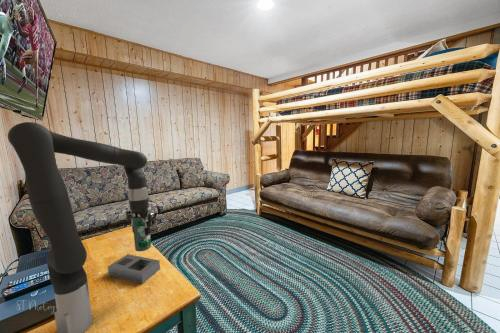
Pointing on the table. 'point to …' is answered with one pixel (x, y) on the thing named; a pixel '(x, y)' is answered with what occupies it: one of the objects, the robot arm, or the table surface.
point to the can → (140, 235)
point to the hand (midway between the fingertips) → (141, 233)
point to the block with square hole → (134, 268)
